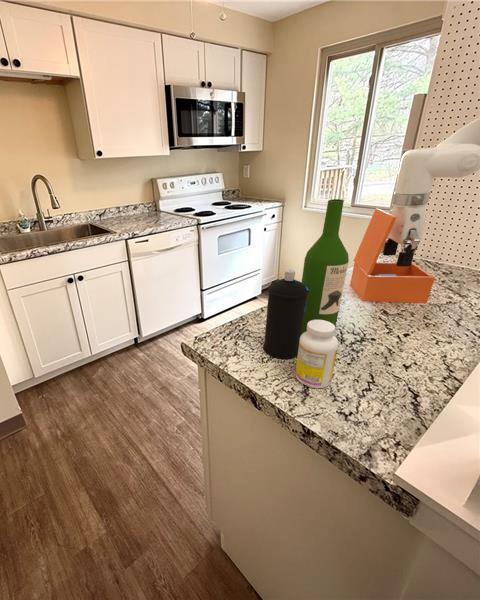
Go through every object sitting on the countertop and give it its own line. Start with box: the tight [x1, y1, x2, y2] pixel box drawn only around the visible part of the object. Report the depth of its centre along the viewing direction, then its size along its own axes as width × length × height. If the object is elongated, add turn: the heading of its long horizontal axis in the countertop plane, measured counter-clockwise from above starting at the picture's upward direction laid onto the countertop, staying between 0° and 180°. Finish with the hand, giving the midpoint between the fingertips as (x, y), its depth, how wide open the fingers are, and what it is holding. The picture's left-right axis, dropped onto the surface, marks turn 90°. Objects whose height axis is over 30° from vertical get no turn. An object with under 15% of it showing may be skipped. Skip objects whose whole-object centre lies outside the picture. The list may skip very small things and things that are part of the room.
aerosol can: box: [262, 269, 309, 360], centre depth 70 cm, size 8×8×20 cm
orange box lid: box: [353, 208, 397, 275], centre depth 89 cm, size 16×13×1 cm
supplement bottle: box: [294, 320, 339, 389], centre depth 61 cm, size 7×7×13 cm
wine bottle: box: [301, 198, 350, 335], centre depth 73 cm, size 9×9×32 cm
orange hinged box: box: [349, 261, 436, 304], centre depth 93 cm, size 16×13×8 cm
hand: (395, 260), depth 90 cm, fingers open, 9 cm apart
